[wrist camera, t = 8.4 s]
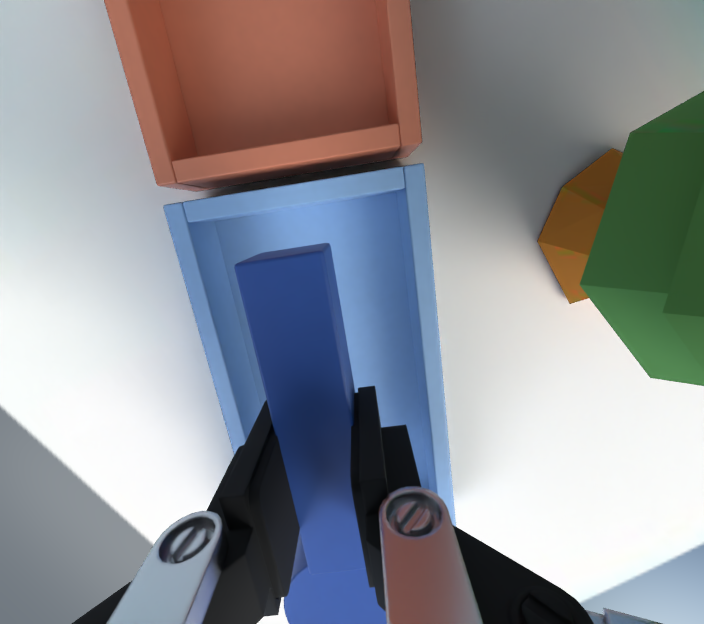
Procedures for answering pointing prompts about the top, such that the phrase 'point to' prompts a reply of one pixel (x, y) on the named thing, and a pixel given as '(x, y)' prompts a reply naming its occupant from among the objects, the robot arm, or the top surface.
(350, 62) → the red bin
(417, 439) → the blue bin
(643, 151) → the decorative tree
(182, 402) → the top surface
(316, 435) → the blue spoon
